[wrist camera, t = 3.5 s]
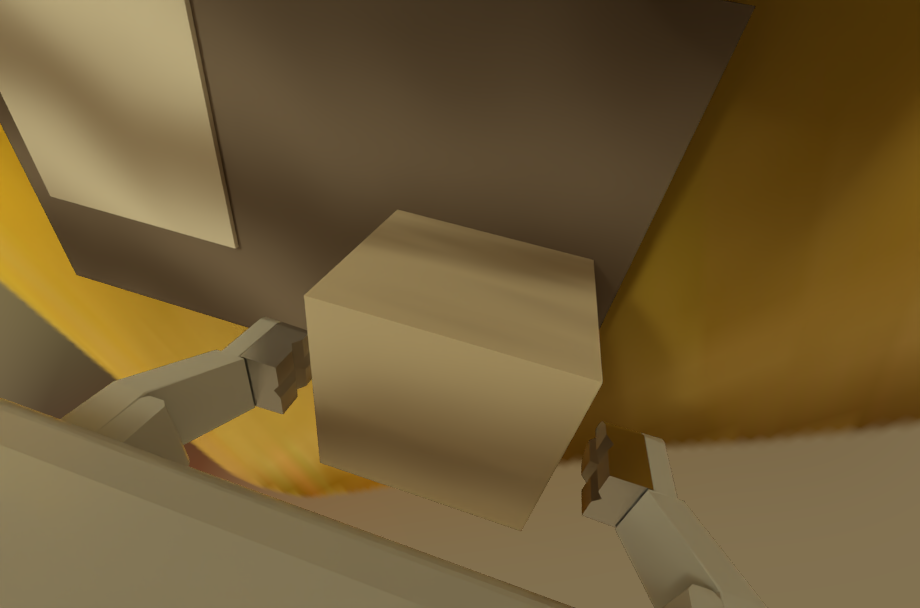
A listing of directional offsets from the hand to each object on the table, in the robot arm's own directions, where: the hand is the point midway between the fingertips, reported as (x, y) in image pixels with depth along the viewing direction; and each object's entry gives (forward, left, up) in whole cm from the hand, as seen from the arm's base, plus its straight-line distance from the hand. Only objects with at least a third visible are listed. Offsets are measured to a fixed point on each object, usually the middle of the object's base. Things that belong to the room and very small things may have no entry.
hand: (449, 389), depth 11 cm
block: (0, 0, -3) cm, 3 cm away
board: (-3, -7, -4) cm, 9 cm away
